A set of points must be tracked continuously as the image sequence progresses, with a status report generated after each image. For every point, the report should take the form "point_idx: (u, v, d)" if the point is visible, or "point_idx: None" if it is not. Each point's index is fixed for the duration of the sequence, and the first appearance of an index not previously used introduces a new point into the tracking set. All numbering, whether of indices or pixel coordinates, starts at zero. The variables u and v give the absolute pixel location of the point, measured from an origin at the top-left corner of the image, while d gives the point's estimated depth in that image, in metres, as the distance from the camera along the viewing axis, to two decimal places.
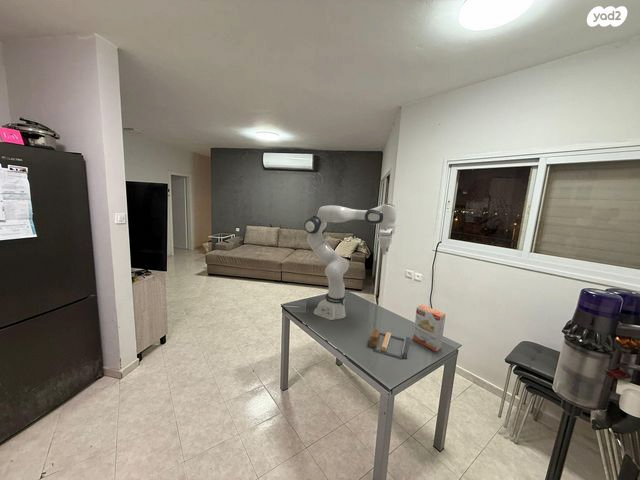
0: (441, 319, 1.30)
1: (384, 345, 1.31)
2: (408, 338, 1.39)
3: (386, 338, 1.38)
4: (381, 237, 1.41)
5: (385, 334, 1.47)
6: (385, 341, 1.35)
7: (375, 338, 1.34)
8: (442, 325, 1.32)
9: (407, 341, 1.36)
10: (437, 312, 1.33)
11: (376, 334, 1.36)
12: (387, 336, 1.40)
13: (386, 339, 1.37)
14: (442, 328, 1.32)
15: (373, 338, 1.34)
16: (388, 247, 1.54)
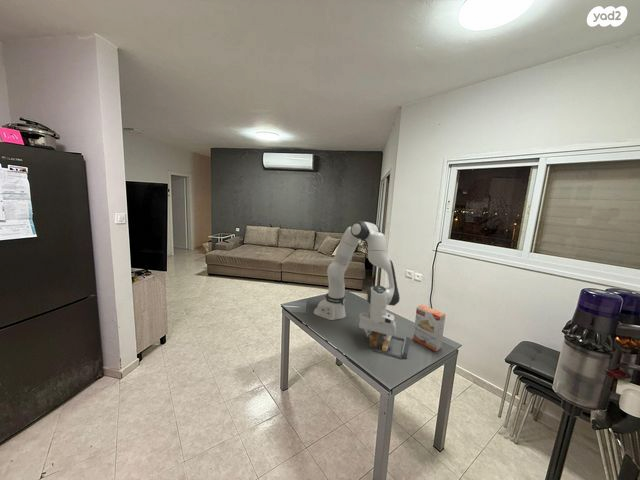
0: (441, 319, 1.30)
1: (385, 345, 1.31)
2: (408, 338, 1.39)
3: (387, 338, 1.38)
4: (394, 325, 1.31)
5: (385, 334, 1.47)
6: (386, 341, 1.35)
7: (375, 338, 1.34)
8: (442, 325, 1.32)
9: (407, 341, 1.36)
10: (437, 312, 1.33)
11: (376, 334, 1.36)
12: (388, 336, 1.40)
13: (387, 339, 1.37)
14: (442, 328, 1.32)
15: (373, 338, 1.34)
16: (367, 331, 1.40)
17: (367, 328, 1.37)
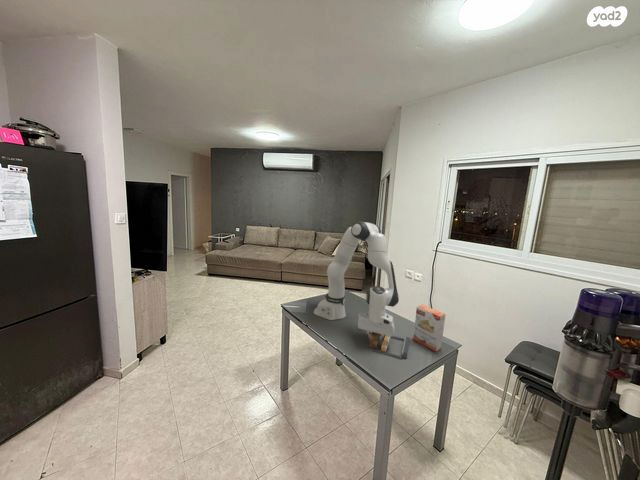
0: (441, 319, 1.30)
1: (384, 345, 1.31)
2: (408, 338, 1.39)
3: (386, 338, 1.38)
4: (392, 326, 1.31)
5: None
6: (385, 341, 1.35)
7: (375, 338, 1.33)
8: (442, 325, 1.32)
9: (407, 341, 1.36)
10: (437, 312, 1.33)
11: (376, 334, 1.36)
12: (387, 336, 1.40)
13: (386, 339, 1.37)
14: (442, 328, 1.32)
15: (374, 338, 1.34)
16: (369, 332, 1.40)
17: (366, 328, 1.37)
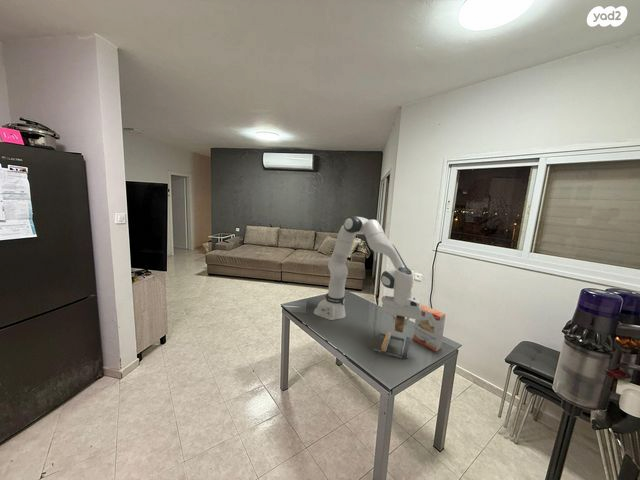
0: (441, 319, 1.30)
1: (384, 345, 1.31)
2: (408, 338, 1.39)
3: (386, 338, 1.38)
4: (420, 308, 1.24)
5: (385, 334, 1.47)
6: (385, 341, 1.35)
7: (401, 322, 1.26)
8: (442, 325, 1.32)
9: (407, 341, 1.36)
10: (437, 312, 1.33)
11: (402, 318, 1.29)
12: (387, 336, 1.40)
13: (386, 339, 1.37)
14: (442, 328, 1.32)
15: (400, 322, 1.27)
16: None
17: (390, 312, 1.30)
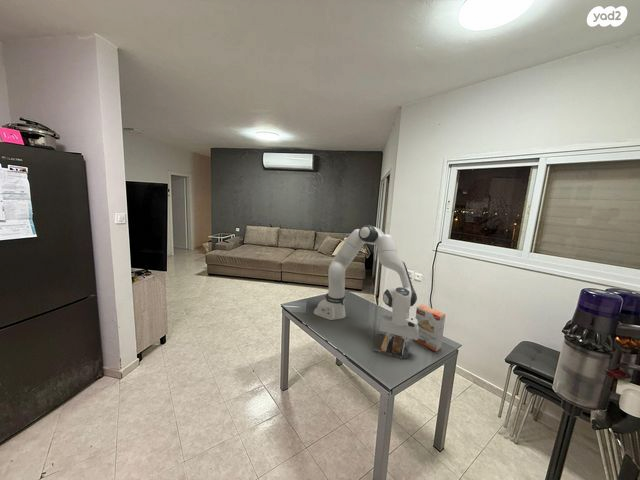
0: (441, 319, 1.30)
1: (384, 345, 1.31)
2: None
3: (386, 338, 1.38)
4: (417, 329, 1.26)
5: (385, 334, 1.47)
6: (385, 341, 1.35)
7: (398, 344, 1.29)
8: (442, 325, 1.32)
9: None
10: (437, 312, 1.33)
11: (399, 340, 1.31)
12: (387, 336, 1.40)
13: (386, 339, 1.37)
14: (442, 328, 1.32)
15: (397, 344, 1.29)
16: (389, 334, 1.35)
17: (388, 331, 1.32)
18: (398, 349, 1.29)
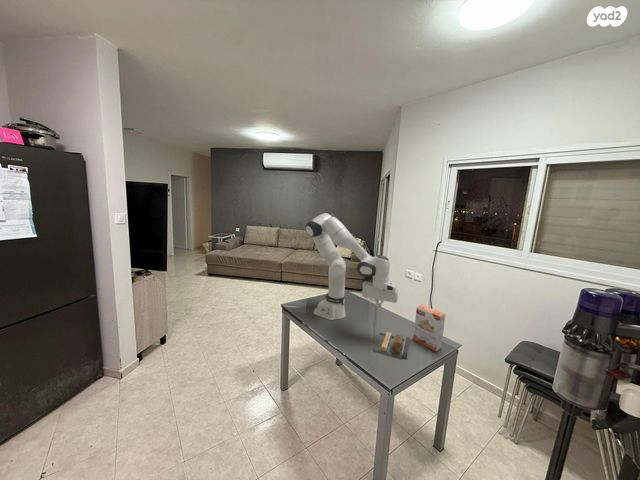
0: (441, 319, 1.30)
1: (384, 345, 1.31)
2: (408, 338, 1.39)
3: (386, 338, 1.38)
4: (396, 292, 1.36)
5: (385, 334, 1.47)
6: (385, 341, 1.35)
7: (398, 344, 1.29)
8: (442, 325, 1.32)
9: (407, 341, 1.36)
10: (437, 312, 1.33)
11: (399, 340, 1.31)
12: (387, 336, 1.40)
13: (386, 339, 1.37)
14: (442, 328, 1.32)
15: (397, 344, 1.29)
16: None
17: (370, 296, 1.42)
18: (398, 349, 1.29)
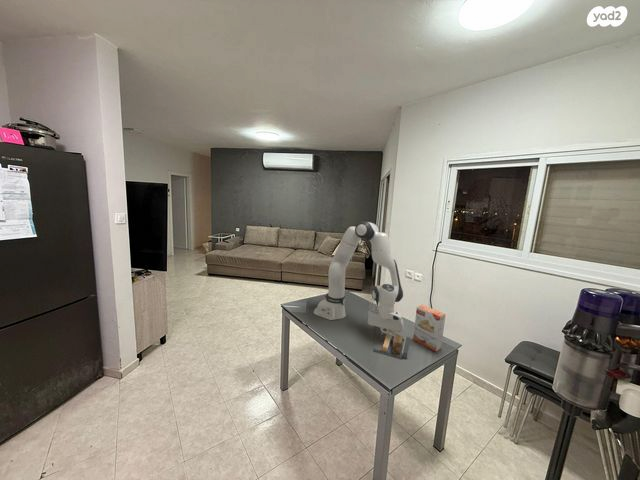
0: (441, 319, 1.30)
1: (385, 345, 1.31)
2: (408, 338, 1.39)
3: (387, 338, 1.38)
4: (402, 322, 1.37)
5: None
6: (386, 341, 1.35)
7: (398, 344, 1.29)
8: (442, 325, 1.32)
9: (407, 341, 1.36)
10: (437, 312, 1.33)
11: (399, 340, 1.31)
12: (388, 336, 1.40)
13: (387, 339, 1.37)
14: (442, 328, 1.32)
15: (397, 344, 1.29)
16: (382, 329, 1.44)
17: (375, 324, 1.43)
18: (398, 349, 1.29)
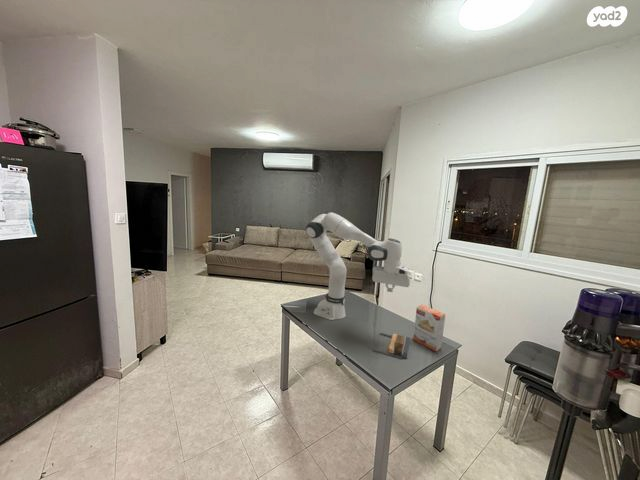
0: (441, 319, 1.30)
1: (391, 347, 1.30)
2: (408, 338, 1.39)
3: (393, 340, 1.36)
4: (408, 276, 1.32)
5: (385, 334, 1.47)
6: (392, 343, 1.34)
7: (400, 344, 1.28)
8: (442, 325, 1.32)
9: (407, 341, 1.36)
10: (437, 312, 1.33)
11: (401, 340, 1.31)
12: (394, 338, 1.39)
13: (393, 341, 1.36)
14: (442, 328, 1.32)
15: (399, 345, 1.29)
16: None
17: (380, 281, 1.38)
18: (400, 350, 1.29)
